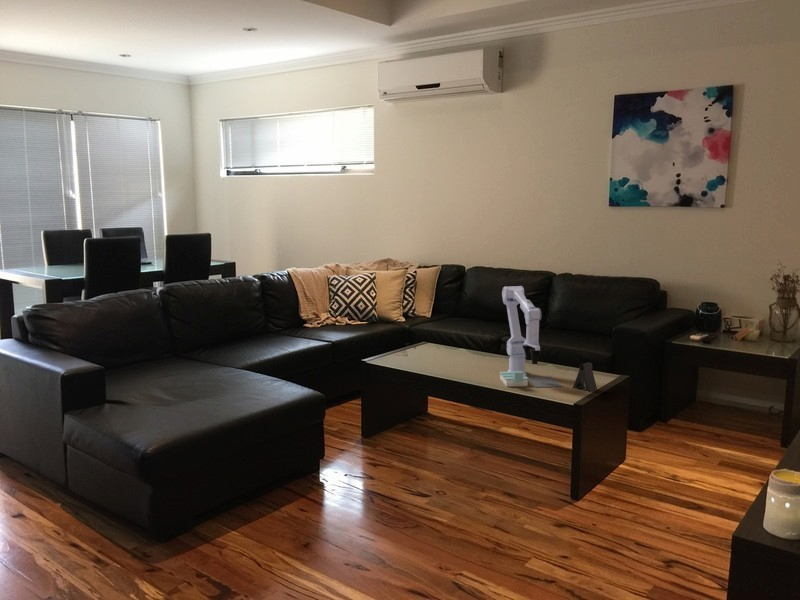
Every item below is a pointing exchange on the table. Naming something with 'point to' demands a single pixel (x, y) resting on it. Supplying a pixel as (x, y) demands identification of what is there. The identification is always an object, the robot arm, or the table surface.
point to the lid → (514, 376)
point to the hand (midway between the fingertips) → (531, 362)
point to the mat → (544, 382)
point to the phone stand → (585, 378)
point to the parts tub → (512, 383)
